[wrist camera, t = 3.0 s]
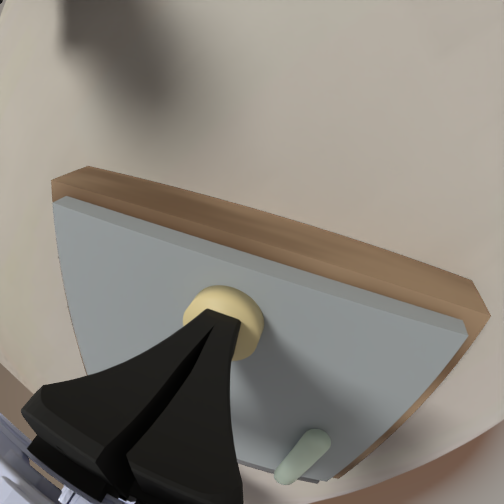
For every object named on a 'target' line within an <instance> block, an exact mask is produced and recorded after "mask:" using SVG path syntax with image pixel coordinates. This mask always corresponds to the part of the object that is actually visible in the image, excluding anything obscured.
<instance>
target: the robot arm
mask: <svg viewBox="0 0 504 504" xmlns="http://www.w3.org/2000/svg"><path fill="white" fill-rule="evenodd" d="M240 326H241V321H240V320H239V319H237V318H234V317H231V316H228V315H225V314H222V313H219V312H217V311H214V310H211V309H208V308H207V309H205V310H204V311H202V312H201V313H200V314H199V315H198V316H196V317H195V318H194V319H193V320H191V321H190V322H189V323H187V324H186V325H185V326H183V327H182V328H181V329H179V330H178V331H176V332H175V333H173V334H172V335H171V336H169V337H168V338H166V339H165V340H163V341H161V342H160V343H158V344H157V345H155V346H153V347H152V348H150V349H148V350H147V351H145V352H143V353H141V354H139V355H137V356H135V357H133V358H131V359H129V360H127V361H125V362H123V363H120V364H118V365H116V366H113V367H111V368H108V369H106V370H103V371H100V372H97V373H94V374H91V375H87V376H84V377H81V378H77V379H73V380H69V381H64V382H59V383H53V384H48V385H43V386H42V387H41V388H40V389H39V390H38V391H37V392H36V393H35V394H34V395H33V396H32V397H31V399H30V400H29V401H28V402H27V403H26V404H25V406H24V407H23V408H22V409H21V413H22V415H23V417H24V418H25V420H26V421H27V422H28V424H29V425H30V426H31V428H32V429H33V430H34V431H35V432H36V434H37V436H36V437H35V438H34V440H33V441H31V440H30V439H29V438H28V437H27V436H25V435H24V434H23V433H22V432H21V431H20V430H19V429H17V428H16V427H15V426H14V425H13V424H12V423H11V422H10V421H9V420H8V419H7V418H6V417H5V416H3V415H2V414H1V413H0V504H243V487H242V480H241V476H240V472H239V467H238V462H237V457H236V452H235V446H234V439H233V431H232V423H231V409H230V373H231V361H232V358H233V355H234V352H235V347H236V343H237V339H238V335H239V330H240ZM28 457H29V458H30V459H31V460H32V461H33V462H35V463H36V464H37V465H38V466H39V467H41V468H42V469H43V470H45V471H46V472H47V473H49V474H50V475H51V476H52V477H54V478H55V479H56V480H58V481H59V482H61V483H62V484H63V485H65V486H64V487H63V489H62V490H60V489H59V488H57V487H56V486H55V485H54V484H52V483H51V482H50V481H48V480H47V479H46V478H45V477H44V476H42V475H41V474H40V473H39V472H38V471H36V470H35V469H34V468H33V467H32V466H30V464H29V458H28Z"/></svg>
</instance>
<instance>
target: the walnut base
mask: <svg viewBox="0 0 504 504" xmlns="http://www.w3.org/2000/svg"><path fill="white" fill-rule="evenodd" d="M51 184H52V201H53V202H55V201H57V200H59V199H61V198H63V197H65V196H69V197H72V198H75V199H78V200H81V201H84V202H88V203H91V204H94V205H97V206H100V207H103V208H106V209H110V210H113V211H116V212H119V213H122V214H125V215H128V216H132V217H135V218H138V219H141V220H144V221H147V222H151V223H154V224H157V225H160V226H163V227H166V228H170V229H173V230H176V231H179V232H182V233H185V234H189V235H192V236H195V237H198V238H201V239H204V240H208V241H211V242H214V243H217V244H220V245H223V246H227V247H230V248H233V249H236V250H239V251H242V252H246V253H249V254H252V255H255V256H258V257H262V258H265V259H268V260H271V261H274V262H278V263H281V264H284V265H287V266H290V267H293V268H297V269H300V270H303V271H306V272H309V273H313V274H316V275H319V276H322V277H325V278H329V279H332V280H335V281H338V282H341V283H345V284H348V285H351V286H354V287H357V288H361V289H364V290H367V291H370V292H373V293H377V294H380V295H383V296H386V297H389V298H393V299H396V300H399V301H402V302H406V303H409V304H412V305H415V306H418V307H422V308H425V309H428V310H431V311H435V312H438V313H441V314H444V315H447V316H451V317H454V318H457V319H460V320H463V322H464V325H465V328H466V330H467V333H468V337H467V339H466V340H465V341H464V343H463V344H462V345H461V347H460V348H459V350H458V351H457V352H456V354H455V355H454V356H453V357H452V359H451V360H450V361H449V363H448V364H447V365H446V366H445V368H444V369H443V370H442V371H441V373H440V374H439V375H438V376H437V377H436V379H435V380H434V381H433V382H432V383H431V385H430V386H429V387H428V388H427V389H426V390H425V391H424V393H423V394H422V395H421V396H420V397H419V398H418V399H417V400H416V401H415V403H414V404H413V405H412V406H411V407H410V408H409V409H408V410H407V411H406V412H405V413H404V414H403V415H402V416H401V417H400V418H399V419H398V420H397V421H396V422H395V423H394V424H393V425H392V426H391V427H390V428H389V429H388V430H387V431H386V432H385V433H384V434H383V435H382V436H381V437H380V438H378V439H377V440H376V441H375V442H374V443H373V444H372V445H371V446H370V447H369V448H367V449H366V450H365V451H364V452H363V453H362V454H360V455H359V456H358V457H357V458H356V459H355V460H353V461H352V462H351V463H350V464H349V465H347V466H346V467H345V468H344V469H342V470H341V471H340V472H338V473H337V474H336V475H335V476H333V477H332V478H338V479H339V478H340V477H341V476H343V475H344V474H345V473H347V472H348V471H349V470H351V469H352V468H353V467H354V466H356V465H357V464H358V463H359V462H361V461H362V460H363V459H364V458H365V457H367V456H368V455H369V454H370V453H371V452H373V451H374V450H375V449H376V448H377V447H378V446H379V445H381V444H382V443H383V442H384V441H385V440H386V439H387V438H388V437H389V436H390V435H392V434H393V433H394V432H395V431H396V430H397V429H398V428H399V427H400V426H401V425H402V424H403V423H404V422H405V421H406V420H407V419H408V418H409V417H410V416H411V415H412V414H413V413H414V412H415V411H416V410H417V409H418V408H419V407H420V406H421V405H422V404H423V402H424V401H425V400H426V399H427V398H428V397H429V396H430V395H431V394H432V393H433V391H434V390H435V389H436V388H437V387H438V386H439V385H440V383H441V382H442V381H443V380H444V379H445V378H446V376H447V375H448V374H449V373H450V372H451V370H452V369H453V368H454V367H455V365H456V364H457V363H458V361H459V360H460V359H461V358H462V356H463V355H464V354H465V352H466V351H467V350H468V348H469V347H470V346H471V344H472V343H473V341H474V340H475V339H476V337H477V336H478V334H479V333H480V332H481V330H482V329H483V327H484V326H485V324H486V323H487V321H488V320H489V318H490V317H491V315H490V313H489V311H488V309H487V307H486V305H485V303H484V302H483V300H482V298H481V296H480V294H479V292H478V291H477V289H476V287H475V285H474V283H473V282H472V280H469V279H466V278H464V277H461V276H458V275H456V274H453V273H450V272H447V271H445V270H442V269H439V268H436V267H434V266H431V265H428V264H425V263H422V262H420V261H417V260H414V259H411V258H408V257H405V256H402V255H399V254H396V253H394V252H391V251H388V250H385V249H382V248H379V247H376V246H373V245H370V244H367V243H364V242H361V241H358V240H354V239H351V238H348V237H345V236H342V235H339V234H336V233H333V232H329V231H326V230H323V229H320V228H317V227H313V226H310V225H307V224H304V223H300V222H297V221H294V220H291V219H287V218H284V217H281V216H277V215H274V214H270V213H267V212H264V211H260V210H257V209H253V208H250V207H246V206H243V205H239V204H236V203H232V202H228V201H225V200H221V199H218V198H214V197H210V196H207V195H203V194H199V193H195V192H192V191H188V190H184V189H180V188H176V187H173V186H169V185H165V184H161V183H157V182H153V181H149V180H145V179H141V178H137V177H133V176H129V175H124V174H120V173H116V172H112V171H107V170H103V169H99V168H94V167H90V166H87V167H84V168H81V169H78V170H76V171H73V172H71V173H68V174H65V175H63V176H60V177H58V178H55V179H53V180H51ZM56 241H57V240H56ZM57 248H58V247H57ZM58 255H59V254H58ZM60 268H61V267H60ZM61 273H62V272H61ZM62 279H63V278H62ZM63 284H64V283H63ZM64 290H65V288H64ZM65 295H66V293H65ZM66 299H67V298H66ZM67 304H68V302H67ZM68 308H69V307H68ZM69 313H70V311H69ZM70 317H71V315H70ZM71 321H72V319H71ZM72 325H73V323H72ZM73 329H74V327H73ZM74 333H75V331H74ZM75 337H76V335H75ZM76 341H77V338H76ZM77 344H78V342H77ZM78 348H79V346H78ZM79 351H80V349H79ZM80 355H81V352H80ZM81 358H82V356H81ZM82 361H83V359H82ZM83 364H84V362H83ZM84 368H85V365H84ZM85 371H86V368H85ZM86 374H87V372H86Z"/></svg>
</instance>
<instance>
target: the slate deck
mask: <svg viewBox="0 0 504 504" xmlns="http://www.w3.org/2000/svg"><path fill="white" fill-rule="evenodd" d="M53 214H54V224H55V232H56V240H57V247H58V254H59V261H60V267H61V272H62V278H63V283H64V288H65V293H66V298H67V302H68V307H69V311H70V315H71V319H72V323H73V327H74V331H75V335H76V338H77V342H78V346H79V349H80V352H81V356H82V359H83V362H84V365H85V368H86V372H87V375H91V374H94V373H97V372H100V371H103V370H106V369H108V368H111V367H113V366H116V365H118V364H120V363H123V362H125V361H127V360H129V359H131V358H133V357H135V356H137V355H139V354H141V353H143V352H145V351H147V350H148V349H150V348H152V347H153V346H155V345H157V344H158V343H160V342H161V341H163V340H165V339H166V338H168V337H169V336H171V335H172V334H173V333H175V332H176V331H178V330H179V329H181V328H182V327H183V326H185V325H186V324H187V323H189V322H190V321H191V320H193V319H194V318H195V317H196V316H198V315H199V314H200V313H201V312H202V311H204V310H205V309H207V308H208V309H211V310H214V311H217V312H219V313H222V314H225V315H228V316H231V317H234V318H237V319H239V320H240V321H241V326H240V330H239V335H238V339H237V343H236V347H235V352H234V355H233V358H232V361H231V373H230V409H231V423H232V431H233V439H234V446H235V452H236V457H237V462H238V463H239V464H242V465H245V466H248V467H252V468H255V469H258V470H262V471H265V472H269V473H273V474H274V478H275V480H276V481H277V482H278V483H280V484H282V485H290V484H292V483H293V482H295V481H296V480H302V481H306V482H311V483H316V484H318V483H319V481H320V480H321V481H326V482H327V481H328V480H329V479H331V478H332V477H333V476H335V475H336V474H337V473H338V472H340V471H341V470H342V469H344V468H345V467H346V466H347V465H349V464H350V463H351V462H352V461H353V460H355V459H356V458H357V457H358V456H359V455H360V454H362V453H363V452H364V451H365V450H366V449H367V448H369V447H370V446H371V445H372V444H373V443H374V442H375V441H376V440H377V439H378V438H380V437H381V436H382V435H383V434H384V433H385V432H386V431H387V430H388V429H389V428H390V427H391V426H392V425H393V424H394V423H395V422H396V421H397V420H398V419H399V418H400V417H401V416H402V415H403V414H404V413H405V412H406V411H407V410H408V409H409V408H410V407H411V406H412V405H413V404H414V403H415V401H416V400H417V399H418V398H419V397H420V396H421V395H422V394H423V393H424V391H425V390H426V389H427V388H428V387H429V386H430V385H431V383H432V382H433V381H434V380H435V379H436V377H437V376H438V375H439V374H440V373H441V371H442V370H443V369H444V368H445V366H446V365H447V364H448V363H449V361H450V360H451V359H452V357H453V356H454V355H455V354H456V352H457V351H458V350H459V348H460V347H461V345H462V344H463V343H464V341H465V340H466V339H467V337H468V333H467V330H466V328H465V325H464V322H463V320H460V319H457V318H454V317H451V316H447V315H444V314H441V313H438V312H435V311H431V310H428V309H425V308H422V307H418V306H415V305H412V304H409V303H406V302H402V301H399V300H396V299H393V298H389V297H386V296H383V295H380V294H377V293H373V292H370V291H367V290H364V289H361V288H357V287H354V286H351V285H348V284H345V283H341V282H338V281H335V280H332V279H329V278H325V277H322V276H319V275H316V274H313V273H309V272H306V271H303V270H300V269H297V268H293V267H290V266H287V265H284V264H281V263H278V262H274V261H271V260H268V259H265V258H262V257H258V256H255V255H252V254H249V253H246V252H242V251H239V250H236V249H233V248H230V247H227V246H223V245H220V244H217V243H214V242H211V241H208V240H204V239H201V238H198V237H195V236H192V235H189V234H185V233H182V232H179V231H176V230H173V229H170V228H166V227H163V226H160V225H157V224H154V223H151V222H147V221H144V220H141V219H138V218H135V217H132V216H128V215H125V214H122V213H119V212H116V211H113V210H110V209H106V208H103V207H100V206H97V205H94V204H91V203H88V202H84V201H81V200H78V199H75V198H72V197H69V196H65V197H63V198H61V199H59V200H57V201H55V202H53Z"/></svg>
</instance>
